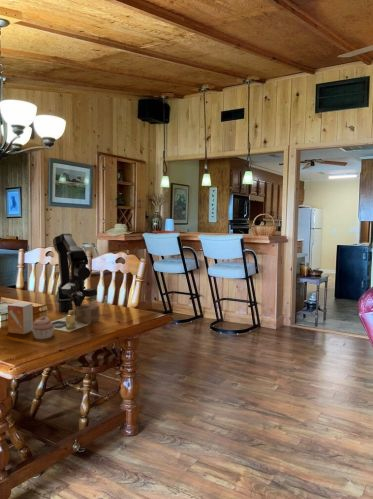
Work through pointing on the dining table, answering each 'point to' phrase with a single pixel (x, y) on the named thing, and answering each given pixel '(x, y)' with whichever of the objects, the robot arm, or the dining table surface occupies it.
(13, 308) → the small box
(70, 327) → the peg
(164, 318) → the dining table surface
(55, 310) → the dining table surface
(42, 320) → the cupcake
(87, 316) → the housing
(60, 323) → the board
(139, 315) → the dining table surface
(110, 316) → the dining table surface
